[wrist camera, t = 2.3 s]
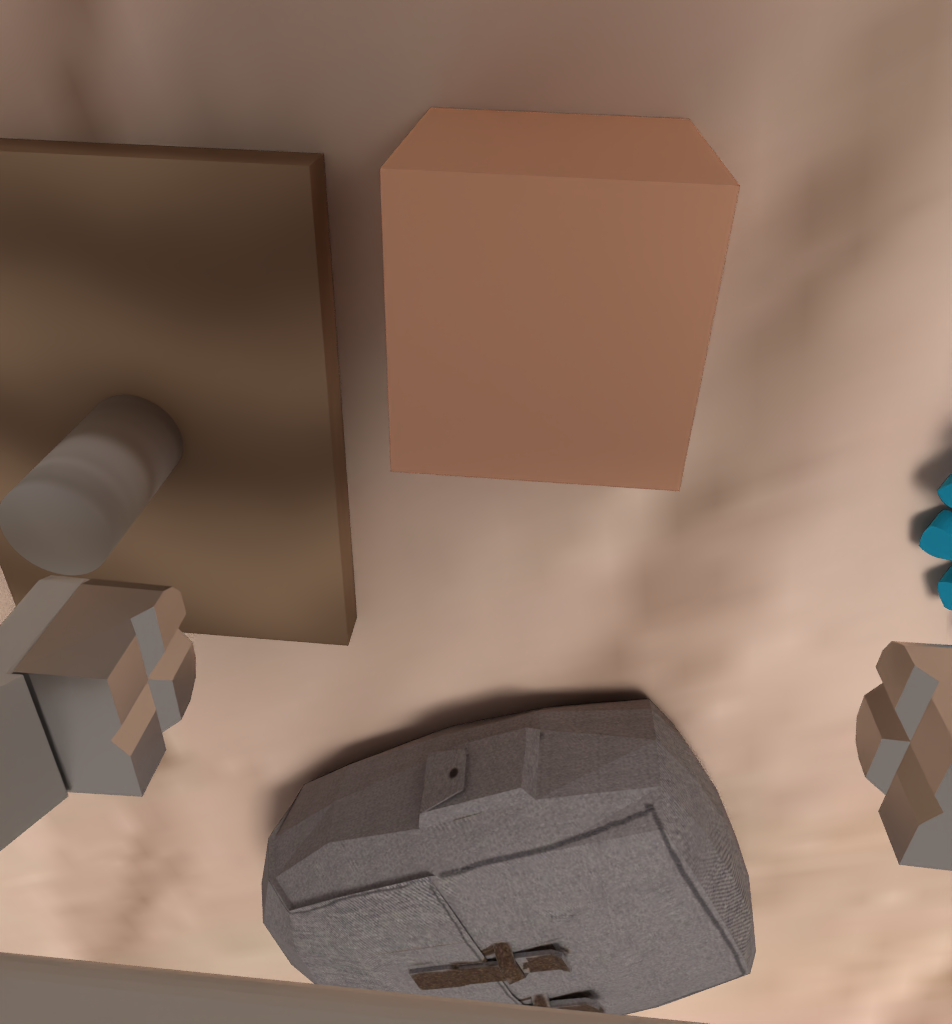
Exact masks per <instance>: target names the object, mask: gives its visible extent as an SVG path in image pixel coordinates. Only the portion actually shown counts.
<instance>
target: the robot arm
mask: <svg viewBox="0 0 952 1024" xmlns="http://www.w3.org/2000/svg"><path fill="white" fill-rule="evenodd" d="M185 615H186V610H185V606H184V603H183V599H182V595H181V592H180V591H179V590H177V589H176V588H174V587H172V586H163V585H153V584H143V583H132V582H122V581H112V580H102V579H85V578H75V577H64V576H54V575H51V576H48V577H46V578H43V579H41V580H39V581H38V582H37V583H36V584H35V585H34V586H33V588H32V589H31V590H30V591H29V592H28V593H27V595H26V596H25V597H24V598H23V599H22V600H21V602H20V603H19V604H18V605H17V606H16V607H15V608H14V610H13V611H12V612H11V613H10V614H9V615H8V617H7V618H6V619H5V620H4V621H3V622H2V624H1V625H0V851H1V850H2V849H3V848H5V847H6V846H7V845H8V844H10V843H11V842H12V841H13V840H14V839H16V838H17V837H18V836H19V835H21V834H22V833H23V832H24V831H26V830H27V829H28V828H29V827H31V826H32V825H33V824H34V823H36V822H37V821H38V820H39V819H41V818H42V817H43V816H44V815H46V814H47V813H48V812H49V811H51V810H52V809H53V808H54V807H55V806H57V805H58V804H59V803H60V802H62V801H63V800H64V799H65V798H67V797H68V793H67V792H75V793H92V794H108V795H124V796H141V797H142V796H143V794H144V792H145V790H146V788H147V786H148V784H149V782H150V780H151V778H152V776H153V774H154V773H155V771H156V769H157V767H158V765H159V763H160V761H161V759H162V757H163V755H164V753H165V751H166V747H165V743H164V739H163V735H162V732H164V731H165V730H167V729H168V728H170V727H171V726H173V725H174V724H176V723H177V722H179V721H180V720H181V719H182V717H183V715H184V713H185V711H186V709H187V706H188V704H189V702H190V700H191V695H192V691H193V686H194V682H195V678H196V657H195V652H194V647H193V642H192V641H191V640H190V639H189V638H188V637H187V636H186V635H185V634H184V633H183V632H182V631H180V630H179V629H178V628H179V626H180V624H181V622H182V621H183V619H184V617H185ZM876 669H877V671H878V673H879V675H880V678H881V680H882V682H883V683H882V684H881V685H879V686H878V687H876V688H875V689H873V690H872V691H870V692H869V693H867V694H866V695H864V698H863V701H862V703H861V706H860V709H859V712H858V715H857V722H856V746H857V752H858V757H859V761H860V764H861V766H862V769H863V772H864V775H865V777H866V778H867V779H868V780H869V781H870V782H871V783H872V784H874V785H875V786H876V787H877V788H878V789H879V790H880V791H882V792H883V793H884V794H885V795H886V796H885V798H884V800H883V802H882V804H881V807H880V809H879V811H878V812H879V814H880V817H881V819H882V822H883V824H884V827H885V830H886V832H887V835H888V837H889V840H890V842H891V845H892V847H893V850H894V853H895V855H896V858H897V860H898V863H899V865H907V866H915V867H924V868H933V869H941V870H950V871H952V645H941V644H926V643H912V642H897V641H891V642H890V643H889V644H888V645H887V647H886V648H885V649H884V650H883V651H882V653H881V656H880V658H879V661H878V663H877V665H876ZM0 1024H708V1023H698V1022H688V1021H678V1020H668V1019H658V1018H648V1017H638V1016H628V1015H618V1014H608V1013H598V1012H588V1011H578V1010H568V1009H558V1008H548V1007H538V1006H528V1005H518V1004H508V1003H499V1002H489V1001H479V1000H469V999H459V998H449V997H439V996H429V995H419V994H409V993H399V992H389V991H379V990H369V989H360V988H350V987H340V986H330V985H320V984H310V983H300V982H290V981H280V980H270V979H260V978H251V977H241V976H231V975H221V974H211V973H201V972H191V971H181V970H171V969H162V968H152V967H142V966H132V965H122V964H112V963H102V962H92V961H82V960H73V959H63V958H53V957H43V956H33V955H23V954H13V953H3V952H0Z"/></svg>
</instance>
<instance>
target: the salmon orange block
mask: <svg viewBox="0 0 952 1024" xmlns="http://www.w3.org/2000/svg"><path fill="white" fill-rule="evenodd" d="M380 185H381V213H382V240H383V268H384V296H385V323H386V351H387V379H388V406H389V434H390V462H391V471H392V472H407V473H421V474H436V475H450V476H465V477H480V478H494V479H509V480H524V481H538V482H553V483H568V484H582V485H597V486H612V487H626V488H641V489H655V490H670V491H680V486H681V481H682V476H683V471H684V466H685V461H686V456H687V451H688V446H689V441H690V435H691V430H692V425H693V420H694V415H695V410H696V405H697V400H698V395H699V390H700V385H701V380H702V375H703V370H704V365H705V360H706V355H707V349H708V344H709V339H710V334H711V329H712V324H713V319H714V314H715V309H716V304H717V299H718V294H719V289H720V284H721V279H722V274H723V269H724V264H725V258H726V253H727V248H728V243H729V238H730V233H731V228H732V223H733V218H734V213H735V208H736V203H737V198H738V193H739V188H740V185H739V184H738V183H737V181H736V180H735V179H734V177H733V176H732V175H731V173H730V172H729V171H728V169H727V168H726V167H725V165H724V164H723V163H722V161H721V160H720V159H719V158H718V156H717V155H716V154H715V152H714V151H713V150H712V148H711V147H710V146H709V144H708V143H707V142H706V140H705V139H704V138H703V136H702V135H701V134H700V132H699V131H698V130H697V128H696V127H695V126H694V125H693V123H692V122H691V121H690V119H683V118H660V117H637V116H614V115H592V114H569V113H546V112H523V111H500V110H477V109H455V108H432V107H430V109H429V110H428V111H427V112H426V113H425V115H424V116H423V117H422V118H421V119H420V121H419V122H418V123H417V124H416V126H415V127H414V128H413V129H412V130H411V132H410V133H409V134H408V135H407V136H406V138H405V139H404V140H403V141H402V142H401V144H400V145H399V146H398V147H397V148H396V150H395V151H394V152H393V153H392V154H391V156H390V157H389V158H388V159H387V160H386V162H385V163H384V164H383V165H382V167H381V168H380Z"/></svg>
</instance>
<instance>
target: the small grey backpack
mask: <svg viewBox="0 0 952 1024" xmlns="http://www.w3.org/2000/svg"><path fill="white" fill-rule="evenodd" d="M262 907H263V923H264V925H265V926H266V928H267V929H268V931H269V932H270V934H271V935H272V937H273V938H274V939H275V941H276V942H277V944H278V945H279V947H280V948H281V950H282V951H283V953H284V954H285V956H286V957H287V959H288V960H289V962H290V963H291V965H293V966H294V967H295V968H296V969H297V970H299V971H300V972H301V973H302V974H303V975H305V976H306V977H307V978H308V979H309V980H311V981H312V982H313V983H314V984H320V985H330V986H340V987H350V988H360V989H369V990H379V991H389V992H399V993H409V994H419V995H429V996H439V997H449V998H459V999H469V1000H479V1001H489V1002H499V1003H508V1004H518V1005H528V1006H538V1007H548V1008H558V1009H568V1010H578V1011H588V1012H598V1013H608V1014H618V1015H626V1014H630V1013H635V1012H639V1011H643V1010H647V1009H651V1008H656V1007H659V1006H662V1005H665V1004H668V1003H671V1002H674V1001H676V1000H679V999H682V998H685V997H687V996H690V995H693V994H695V993H698V992H701V991H704V990H706V989H709V988H712V987H715V986H717V985H720V984H723V983H726V982H728V981H731V980H734V979H736V978H739V977H742V976H745V975H747V974H750V972H751V968H752V964H753V960H754V956H755V952H756V947H755V936H754V924H753V913H752V903H751V893H750V883H749V875H748V872H747V869H746V866H745V863H744V860H743V857H742V854H741V850H740V847H739V844H738V841H737V838H736V835H735V833H734V830H733V828H732V825H731V823H730V820H729V818H728V816H727V813H726V811H725V808H724V806H723V803H722V801H721V799H720V796H719V794H718V791H717V789H716V787H715V786H714V784H713V783H712V781H711V780H710V778H709V777H708V775H707V774H706V772H705V771H704V769H703V767H702V766H701V764H700V763H699V761H698V760H697V758H696V757H695V755H694V754H693V752H692V751H691V749H690V747H689V746H688V744H687V743H686V742H685V740H684V739H683V737H682V736H681V735H680V733H679V732H678V731H677V729H676V728H675V726H674V725H673V724H672V722H671V721H670V720H669V719H668V718H667V717H666V716H665V715H664V714H663V713H662V712H661V711H660V710H659V709H658V708H657V707H656V706H655V705H654V704H653V703H652V702H651V701H650V700H649V699H643V700H630V701H618V702H605V703H593V704H580V705H568V706H555V707H546V708H541V709H536V710H531V711H526V712H521V713H516V714H511V715H506V716H501V717H496V718H491V719H486V720H481V721H476V722H471V723H466V724H461V725H456V726H452V727H449V728H446V729H443V730H440V731H437V732H435V733H432V734H429V735H427V736H424V737H421V738H419V739H416V740H414V741H411V742H408V743H406V744H403V745H400V746H398V747H395V748H392V749H390V750H387V751H384V752H382V753H379V754H376V755H374V756H371V757H368V758H366V759H363V760H360V761H358V762H355V763H353V764H350V765H347V766H345V767H343V768H341V769H338V770H336V771H334V772H332V773H329V774H327V775H325V776H323V777H320V778H318V779H316V780H314V781H311V782H309V783H307V784H305V785H304V786H303V787H302V789H301V791H300V792H299V794H298V796H297V797H296V799H295V801H294V802H293V804H292V805H291V807H290V808H289V810H288V811H287V812H286V814H285V815H284V817H283V818H282V820H281V821H280V822H279V824H278V825H277V827H276V828H275V829H274V831H273V832H272V834H271V835H270V837H269V839H268V846H267V852H266V859H265V865H264V872H263V878H262Z"/></svg>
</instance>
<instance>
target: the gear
mask: <svg viewBox="0 0 952 1024" xmlns="http://www.w3.org/2000/svg"><path fill="white" fill-rule="evenodd" d="M937 492H938V495H939V497H940V498H941V500H942V501H943V502H944V503H945V504H946V505H947V506H949V507H950V508H952V474H950V476H949V477H948V478H947V479H946V481H945V482H944V483H943V484H942V486H941V487H940V488H939V489H938V490H937ZM919 546H920V547H921V548H922V549H923V550H924V551H925V552H927V553H928V554H930V555H932V556H935V557H938V558H942V559H948V560H951V561H952V511H949V510H943V511H941V512H940V513H939V514H938V515H937V516H936V518H935V519H934V520H933V521H932V523H931V524H930V525H929V526H928V528H927V529H926V530H925V532H924V533H923V535H922V537H921V540H920V544H919ZM938 593H939V596H940V598H941V601H942V603H943V605H944V607H946V608H947V609H949V610H952V566H950V568H949V569H948V570H947V572H946V573H945V574H944V576H943V577H942V578H941V580H940V581H939V582H938Z"/></svg>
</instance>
